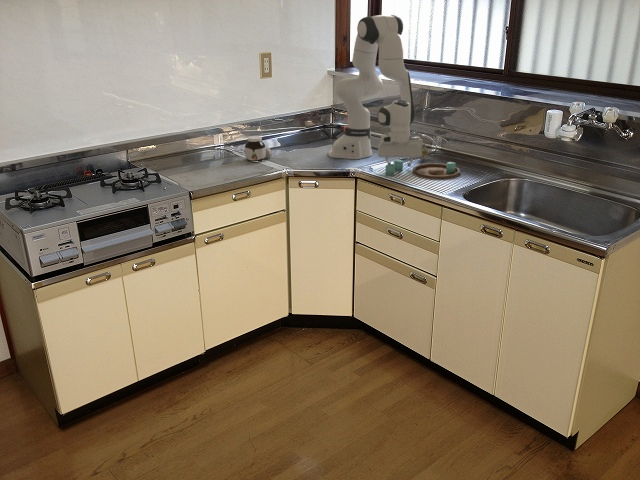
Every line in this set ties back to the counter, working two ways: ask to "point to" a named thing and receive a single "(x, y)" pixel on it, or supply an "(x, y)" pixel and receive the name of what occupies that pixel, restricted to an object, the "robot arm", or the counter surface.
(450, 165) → the bead
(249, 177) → the counter surface
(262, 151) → the spread jar
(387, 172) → the bead
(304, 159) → the counter surface
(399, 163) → the bead
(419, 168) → the ring tray
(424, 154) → the pocket watch
